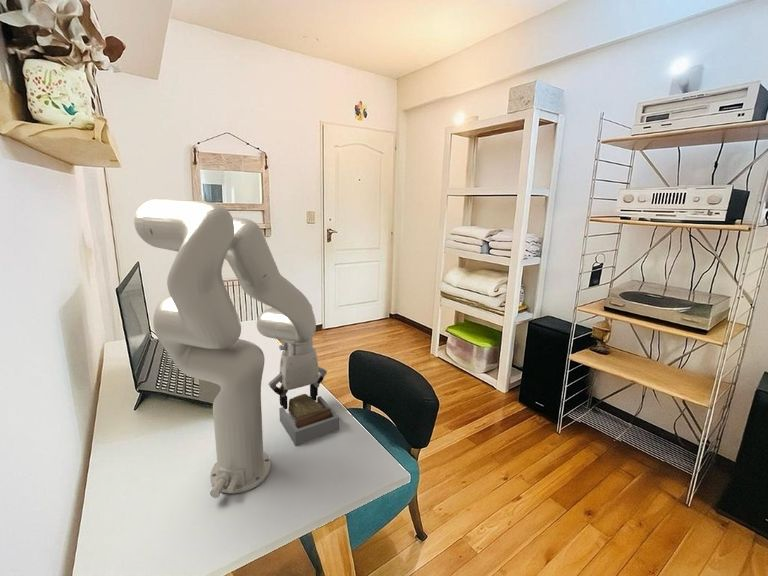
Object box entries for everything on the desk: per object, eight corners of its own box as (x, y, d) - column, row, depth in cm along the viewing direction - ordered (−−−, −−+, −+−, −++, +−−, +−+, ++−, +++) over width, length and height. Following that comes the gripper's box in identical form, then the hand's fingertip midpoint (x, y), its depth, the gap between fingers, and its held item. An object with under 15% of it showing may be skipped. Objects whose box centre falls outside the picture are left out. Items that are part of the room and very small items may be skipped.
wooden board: (330, 425, 97) (330, 409, 96) (296, 437, 92) (296, 420, 91) (328, 423, 98) (328, 407, 97) (295, 434, 93) (294, 417, 92)
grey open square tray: (339, 430, 96) (339, 417, 95) (295, 446, 89) (295, 432, 88) (320, 408, 106) (320, 395, 105) (279, 420, 99) (279, 407, 98)
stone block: (310, 432, 95) (310, 415, 94) (286, 413, 103) (286, 398, 102) (327, 423, 99) (327, 407, 98) (303, 406, 107) (303, 391, 106)
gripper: (271, 357, 90) (273, 418, 95) (333, 344, 100) (332, 400, 104) (262, 347, 96) (264, 404, 101) (321, 335, 106) (321, 388, 110)
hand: (299, 402), depth 102 cm, fingers open, 8 cm apart
